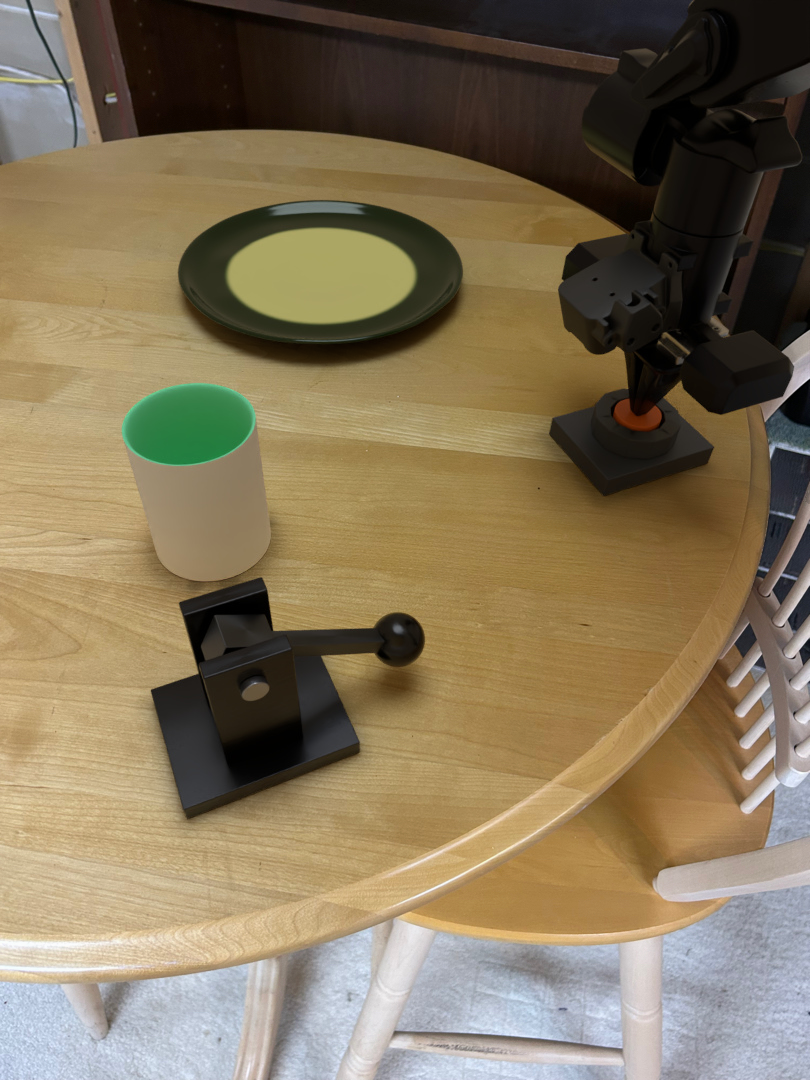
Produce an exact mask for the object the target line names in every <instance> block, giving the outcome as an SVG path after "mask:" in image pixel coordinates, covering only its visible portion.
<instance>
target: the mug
mask: <svg viewBox="0 0 810 1080" xmlns="http://www.w3.org/2000/svg"><path fill="white" fill-rule="evenodd" d="M121 437H122V440H123V444H124V447H125V450H126V453H127V457H128V461H129V464H130V467H131V470H132V474H133V477H134V481H135V485H136V488H137V492H138V495H139V498H140V502H141V505H142V508H143V512H144V516H145V519H146V522H147V526H148V530H149V533H150V536H151V540H152V543H153V547H154V550H155V553H156V556H157V558H158V560H159V562H160V563H161V564H162V566H163V567H164V568H165V569H166V570H168V571H169V572H170V573H171V574H173V575H176V576H177V577H180V578H182V579H185V580H189V581H195V582H217V581H222V580H226V579H230V578H233V577H236V576H239V575H240V574H243V573H245V572H246V571H249V570H250V569H251V568H252V567H254V566H255V565H256V564H257V563H259V562H260V560H262V558H263V557H264V555H265V554H266V552H267V551H268V549H269V547H270V544H271V540H272V529H271V522H270V514H269V513H270V512H269V507H268V500H267V492H266V485H265V476H264V469H263V462H262V455H261V445H260V438H259V431H258V424H257V416H256V411H255V408H254V406H253V405H252V403H251V402H250V400H249V399H248V398H246V397H245V396H244V395H243V394H241V393H240V392H238V391H236V390H235V389H232V388H229V387H227V386H223V385H219V384H215V383H207V382H190V383H181V384H175V385H171V386H167V387H165V388H161V389H159V390H156V391H154V392H152V393H150V394H147V395H146V396H144V397H143V398H142V399H140V400H139V401H138V402H136V403H135V404H134V405H133V406H132V407H131V408H129V411H128V412H127V413H126V414H125V416H124V419H123V421H122V424H121Z"/></svg>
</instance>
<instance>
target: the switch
mask: <svg viewBox="0 0 810 1080" xmlns="http://www.w3.org/2000/svg"><path fill="white" fill-rule="evenodd" d="M178 606H179V610H180V613H181V616H182V620H183V624H184V628H185V631H186V636H187V638H188V642H189V645H190V648H191V653H192V657H193V659H194V660H193V661H194V663H195V666H196V670H197V673H196V674H193V675H190V676H187V677H184V678H181V679H178V680H175V681H172V682H169V683H166V684H163V685H160V686H158V687H157V686H156V687H155V688H151V689H150V694H151V697H152V700H153V701H152V702H153V705H154V708H155V712H156V716H157V718H158V719H157V720H158V723H159V727H160V731H161V734H162V738H163V741H164V746H165V748H166V752H167V756H168V760H169V763H170V767H171V771H172V774H173V778H174V782H175V786H176V789H177V793H178V797H179V800H180V804H181V808H182V811H183V813H184V815H185V818H186V820H189V819H191V818H194V817H197V816H199V815H202V814H204V813H207V812H209V811H212V810H214V809H218V808H220V807H222V806H225V805H228V804H230V803H232V802H235V801H237V800H240V799H242V798H245V797H248V796H250V795H254V794H256V793H259V792H261V791H263V790H267V789H269V788H271V787H274V786H276V785H279V784H281V783H284V782H287V781H289V780H292V779H293V778H297V777H299V776H303V775H304V774H307V773H310V772H312V771H315V770H318V769H320V768H322V767H325V766H328V765H331V764H333V763H336V762H338V761H341V760H344V759H347V758H348V757H351V756H354V755H356V754H359V753H361V742H360V739H359V737H358V735H357V733H356V730H355V728H354V725H353V723H352V720H351V719H350V717H349V714H348V713H347V712H348V711H346V707H345V706H344V704H343V701H342V699H341V697H340V695H339V692H338V691H337V688H336V686H335V683H334V681H333V680H332V677H331V675H330V672H329V670H328V668H327V666H326V663H325V662H324V660H323V656H307V657H294V656H293V648H292V646H291V644H290V641H289V639H288V636H287V635H286V634H285V635H282V636H279V637H276V638H273V639H270V640H267V641H264V642H261V643H258V644H255V645H252V646H249V647H246V648H243V649H240V650H236V651H233V652H230V653H227V654H224V655H221V656H218V657H215V658H212V659H209V660H205V657H204V654H203V651H202V648H201V645H202V642H203V640H204V638H205V635H206V633H207V631H208V628H209V626H210V624H211V621H212V619H213V617H214V615H241V614H264V615H265V617H266V619H267V621H268V624H269V626H270V629H271V631H275V630H274V624H273V618H272V612H271V604H270V597H269V591H268V588H267V586H266V583H265V580H264V577H262V576H260V577H257V578H253V579H250V580H247V581H243V582H240V583H236V584H233V585H230V586H227V587H224V588H220V589H217V590H214V591H210V592H208V593H204V594H201V595H197V596H194V597H190V598H188V599H185V600H181V601H179V602H178Z"/></svg>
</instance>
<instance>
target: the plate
mask: <svg viewBox="0 0 810 1080" xmlns="http://www.w3.org/2000/svg"><path fill="white" fill-rule="evenodd" d="M463 276H464V266H463V262H462V258H461V256H460V254H459V252H458V250H457V248H456V247H455V246H454V244H453V243H452V242H451V241H450V240H449V239H448V237H447V236H445V235H444V234H443V233H442V232H441V231H439V230H438V229H436V228H435V227H433V226H432V225H430V224H428V223H427V222H425V221H423V220H421V219H419V218H417V217H415V216H412V215H411V214H407V213H405V212H402V211H400V210H399V211H398V210H396V209H393V208H389V207H385V206H381V205H376V204H371V203H365V202H359V201H349V200H340V199H339V200H338V199H337V200H336V199H310V200H309V199H308V200H296V201H295V200H294V201H286V202H280V203H275V204H269V205H265V206H261V207H257V208H253V209H249V210H245V211H242V212H240V213H237V214H234V215H231V216H229V217H227V218H224V219H223V220H221V221H219V222H216V223H215V224H213V225H211V226H210V227H208V228H206V229H205V230H204V231H202V232H201V233H200V234H198V235H197V236H196V237H195V238H194V239H192V241H191V242H190V243H189V244H188V246H187V247H186V248H185V249H184V251H183V253H182V254H181V257H180V259H179V263H178V268H177V280H178V284H179V286H180V289H181V291H182V292H183V294H184V296H185V297H186V298H187V300H188V301H189V302H190V303H191V305H192V306H193V307H194V308H195V309H196V310H197V311H199V312H200V313H201V314H202V315H204V316H205V317H207V318H208V319H210V320H211V321H213V322H215V323H216V324H218V325H220V326H222V327H224V328H227V329H230V330H231V331H235V332H236V333H240V334H243V335H246V336H249V337H252V338H253V337H254V338H257V339H262V340H266V341H272V342H278V343H288V344H298V345H299V344H301V345H302V344H303V345H339V344H340V345H341V344H352V343H359V342H365V341H371V340H376V339H379V338H384V337H388V336H393V335H395V334H398V333H400V332H404V331H406V330H409V329H411V328H414V327H416V326H418V325H419V324H421V323H423V322H425V321H427V320H428V319H430V318H431V317H433V316H434V315H435V314H436V313H438V312H439V311H440V310H441V309H443V308H444V307H445V306H447V305H448V304H449V303H450V302H451V301H452V299H454V298H455V296H456V294H457V293H458V292H459V289H460V288H461V286H462V281H463V278H464V277H463Z"/></svg>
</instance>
